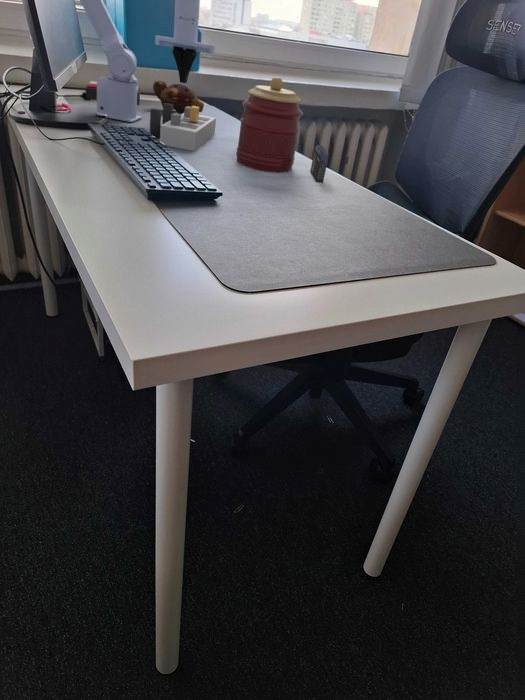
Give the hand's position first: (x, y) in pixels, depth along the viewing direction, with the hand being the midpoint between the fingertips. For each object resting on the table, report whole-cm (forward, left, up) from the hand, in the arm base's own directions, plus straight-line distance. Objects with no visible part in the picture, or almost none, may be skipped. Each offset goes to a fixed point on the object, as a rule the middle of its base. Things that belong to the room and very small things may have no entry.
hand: (183, 82), depth 130 cm
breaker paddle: (+6, -13, -6) cm, 16 cm away
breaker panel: (+6, -13, -10) cm, 18 cm away
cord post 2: (-1, -8, -10) cm, 13 cm away
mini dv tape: (+38, -26, -11) cm, 47 cm away
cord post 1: (-1, -18, -10) cm, 21 cm away
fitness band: (-29, -9, -11) cm, 33 cm away
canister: (+26, -24, -11) cm, 37 cm away
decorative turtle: (-6, +17, -11) cm, 21 cm away
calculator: (-26, +21, -11) cm, 36 cm away
